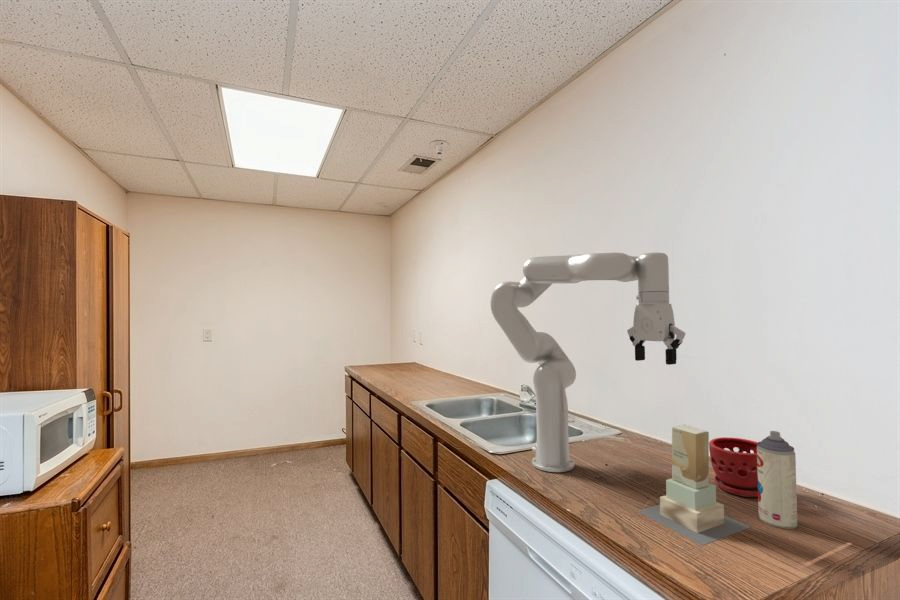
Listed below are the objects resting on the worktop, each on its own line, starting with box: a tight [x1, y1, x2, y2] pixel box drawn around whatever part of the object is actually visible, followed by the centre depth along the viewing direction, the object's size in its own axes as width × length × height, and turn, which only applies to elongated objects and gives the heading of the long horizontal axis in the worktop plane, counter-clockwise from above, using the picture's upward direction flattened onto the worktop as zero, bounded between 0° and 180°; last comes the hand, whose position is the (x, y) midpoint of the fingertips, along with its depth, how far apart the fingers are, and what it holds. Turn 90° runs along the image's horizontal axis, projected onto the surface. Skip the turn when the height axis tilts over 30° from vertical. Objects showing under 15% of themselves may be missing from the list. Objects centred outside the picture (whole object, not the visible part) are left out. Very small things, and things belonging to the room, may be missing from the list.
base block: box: [659, 494, 725, 533], centre depth 95 cm, size 9×9×4 cm
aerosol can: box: [757, 430, 798, 530], centre depth 94 cm, size 7×7×20 cm
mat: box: [636, 503, 751, 546], centre depth 95 cm, size 16×16×1 cm
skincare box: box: [671, 424, 710, 489], centre depth 96 cm, size 6×4×12 cm
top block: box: [665, 478, 717, 511], centre depth 95 cm, size 7×7×4 cm
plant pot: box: [709, 437, 759, 498], centre depth 111 cm, size 13×13×12 cm
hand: (655, 362), depth 114 cm, fingers open, 9 cm apart
